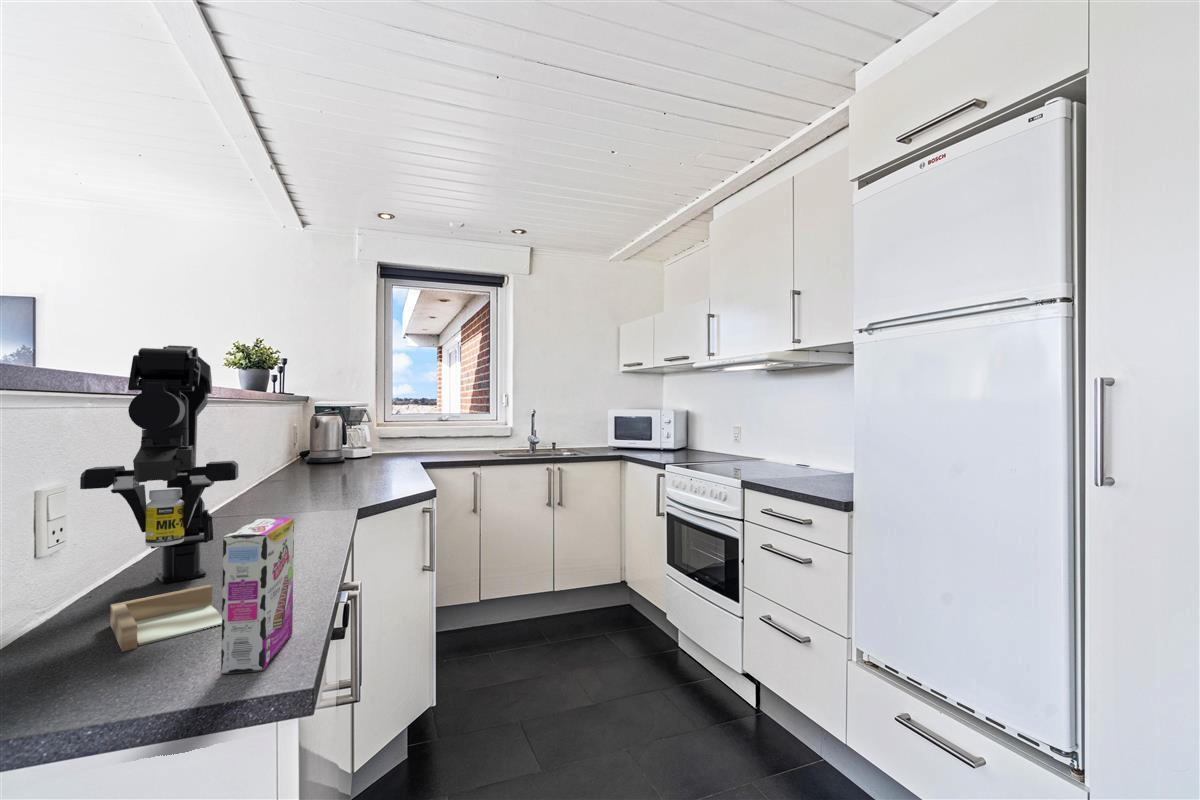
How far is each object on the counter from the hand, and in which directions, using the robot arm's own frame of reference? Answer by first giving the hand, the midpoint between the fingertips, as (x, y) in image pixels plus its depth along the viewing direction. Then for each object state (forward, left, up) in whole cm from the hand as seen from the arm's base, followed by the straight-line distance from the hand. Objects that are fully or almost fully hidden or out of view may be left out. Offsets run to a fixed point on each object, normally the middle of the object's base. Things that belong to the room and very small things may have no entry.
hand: (165, 529), depth 86 cm
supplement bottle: (0, 0, -2) cm, 2 cm away
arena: (+8, 0, -12) cm, 15 cm away
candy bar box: (+28, +6, -13) cm, 31 cm away
